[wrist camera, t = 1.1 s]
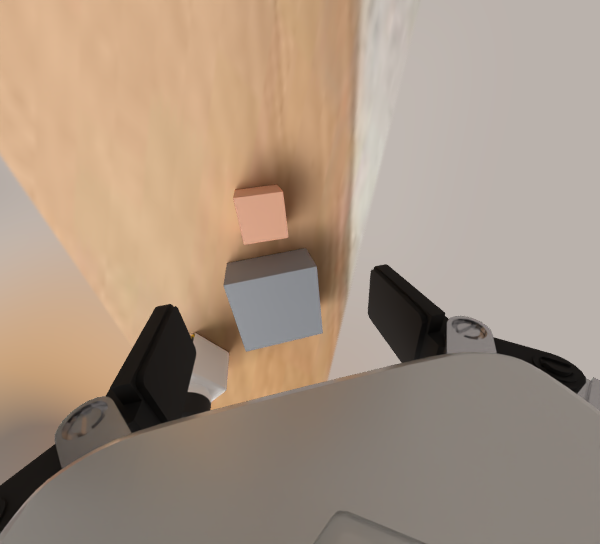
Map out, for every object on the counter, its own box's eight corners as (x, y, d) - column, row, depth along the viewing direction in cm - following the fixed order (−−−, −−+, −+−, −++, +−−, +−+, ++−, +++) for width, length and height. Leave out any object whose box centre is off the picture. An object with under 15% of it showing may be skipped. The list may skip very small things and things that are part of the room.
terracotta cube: (235, 189, 27) (233, 198, 23) (277, 184, 28) (282, 191, 23) (243, 230, 29) (243, 244, 25) (282, 224, 30) (288, 237, 26)
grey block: (227, 262, 31) (223, 285, 26) (305, 247, 33) (316, 266, 27) (245, 322, 37) (245, 351, 32) (312, 307, 38) (322, 333, 33)
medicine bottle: (194, 331, 35) (173, 407, 25) (230, 352, 39) (224, 426, 28) (163, 357, 36) (131, 440, 26) (201, 375, 40) (185, 455, 30)
